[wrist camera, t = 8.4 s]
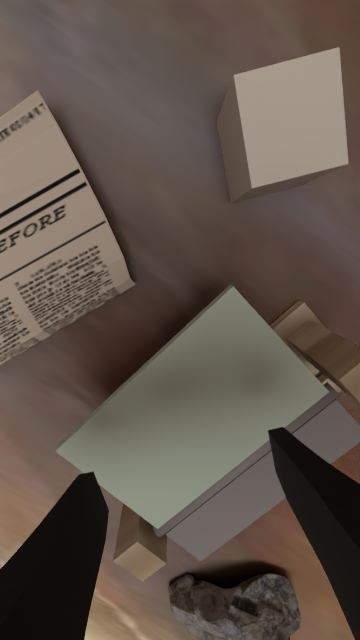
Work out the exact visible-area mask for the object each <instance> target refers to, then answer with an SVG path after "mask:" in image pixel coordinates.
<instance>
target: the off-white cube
mask: <svg viewBox="0 0 360 640" xmlns="http://www.w3.org/2000/svg"><path fill="white" fill-rule="evenodd" d="M216 124H217V129H218V135H219V140H220V146H221V151H222V157H223V162H224V167H225V173H226V178H227V184H228V189H229V195H230V200H231V203H233V202H237V201H241V200H245V199H249V198H253V197H256V196H260V195H264V194H268V193H272V192H276V191H280V190H284V189H288V188H292V187H296V186H300V185H303V184H305V183H308V182H310V181H312V180H314V179H316V178H319V177H321V176H323V175H325V174H327V173H330V172H332V171H334V170H336V169H338V168H340V167H343V166H345V165H347V164H348V152H347V139H346V126H345V113H344V101H343V88H342V75H341V63H340V50H339V47H338V48H334V49H330V50H327V51H323V52H319V53H315V54H312V55H308V56H304V57H300V58H297V59H293V60H289V61H285V62H281V63H278V64H274V65H270V66H266V67H263V68H259V69H255V70H251V71H248V72H244V73H240V74H236V75H233V78H232V81H231V83H230V86H229V89H228V91H227V94H226V97H225V99H224V102H223V105H222V107H221V110H220V113H219V115H218V118H217V121H216Z"/></svg>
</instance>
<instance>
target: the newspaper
mask: <svg viewBox="0 0 360 640" xmlns="http://www.w3.org/2000/svg"><path fill="white" fill-rule="evenodd" d="M134 285H136V282H133V281H132V280H131V279H130V276H129V273H128V269H127V266H126V263H125V260H124V257H123V254H122V252H121V250H120V248H119V245H118V243H117V241H116V239H115V237H114V234H113V232H112V230H111V228H110V225H109V223H108V221H107V219H106V217H105V214H104V212H103V210H102V208H101V206H100V204H99V202H98V200H97V198H96V196H95V195H94V193H93V191H92V189H91V187H90V185H89V183H88V181H87V179H86V177H85V175H84V173H83V171H82V169H81V167H80V165H79V163H78V161H77V159H76V157H75V156H74V154H73V152H72V150H71V148H70V146H69V144H68V143H67V141H66V139H65V137H64V135H63V133H62V131H61V129H60V128H59V126H58V124H57V122H56V120H55V119H54V117H53V115H52V114H51V112H50V110H49V108H48V107H47V105H46V103H45V102H44V100H43V98H42V97H41V95H40V93H39V92H38V90H37V91H36V92H34V93H33V94H31V95H30V96H29V97H27V98H26V99H25V100H23V101H22V102H20V103H19V104H18V105H16V106H15V107H13V108H12V109H11V110H9V111H8V112H6V113H5V114H4V115H2V116H1V117H0V365H2V364H4V363H5V362H7V361H9V360H10V359H12V358H14V357H15V356H17V355H19V354H20V353H22V352H24V351H25V350H27V349H29V348H31V347H32V346H34V345H36V344H37V343H39V342H41V341H42V340H44V339H46V338H47V337H49V336H51V335H52V334H54V333H56V332H57V331H59V330H61V329H62V328H64V327H66V326H67V325H69V324H71V323H72V322H74V321H76V320H77V319H79V318H81V317H82V316H84V315H86V314H87V313H89V312H91V311H92V310H94V309H96V308H98V307H99V306H101V305H103V304H104V303H106V302H108V301H109V300H111V299H113V298H114V297H116V296H118V295H119V294H121V293H123V292H124V291H126V290H128V289H129V288H131V287H133V286H134Z"/></svg>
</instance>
